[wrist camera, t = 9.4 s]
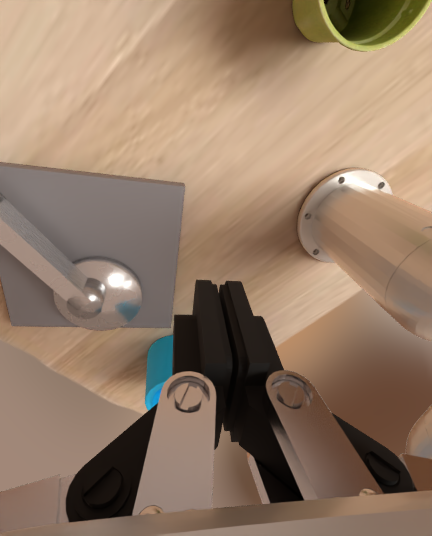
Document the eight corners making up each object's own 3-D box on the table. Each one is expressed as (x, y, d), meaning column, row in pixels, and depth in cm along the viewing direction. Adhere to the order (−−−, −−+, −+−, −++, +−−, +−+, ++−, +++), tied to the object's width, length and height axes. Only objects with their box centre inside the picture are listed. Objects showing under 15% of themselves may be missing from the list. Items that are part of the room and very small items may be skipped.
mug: (168, 379, 49) (169, 426, 42) (136, 352, 45) (131, 399, 38) (229, 344, 47) (241, 387, 40) (201, 313, 43) (209, 354, 36)
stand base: (184, 183, 33) (185, 188, 32) (170, 321, 43) (170, 330, 41) (-23, 159, 29) (-35, 163, 27) (13, 318, 39) (6, 329, 37)
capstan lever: (26, 154, 28) (4, 163, 24) (158, 298, 39) (157, 321, 35) (-50, 210, 29) (-83, 227, 26) (97, 334, 40) (90, 360, 36)
